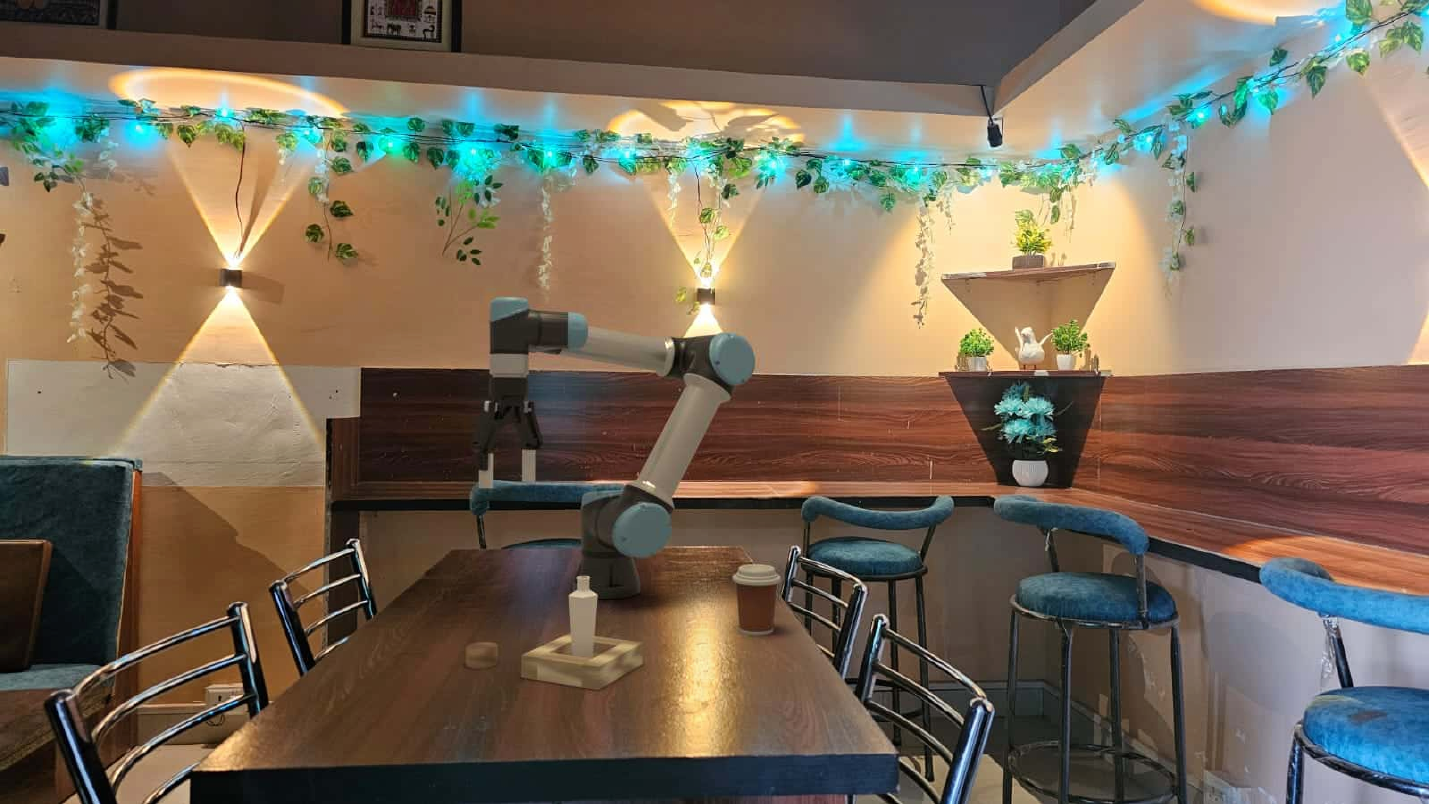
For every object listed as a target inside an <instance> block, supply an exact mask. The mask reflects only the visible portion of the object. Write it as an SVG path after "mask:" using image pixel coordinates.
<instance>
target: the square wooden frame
mask: <svg viewBox="0 0 1429 804" xmlns="http://www.w3.org/2000/svg"><path fill="white" fill-rule="evenodd" d="M643 648H644V643H643V642H641V641H633V640H625V639H619V638H618V639H617V638H612V637H604V636H597V635H594V647H593V659H590V658H583V657H576V656H572V643H571V632H569V633H568V634H565V635H562V636H561V637H559V638H557V639H556V638H555V640H551V641H550V642H547V643H545V644H543V645H541V646H539V647H537V648H534V649H532V650H530V651H527V652H525V653H523V654H521V656H520V657H521V662H520V663H521V665H520V667H521V668H520V669H521V670H520V674H521V675H520V677H521V679H528V680H533V681H540V682H547V683H552V684H557V685H558V684H559V685H564V686H565V685H566V686H571V687H575V688H577V687H578V688H583V689H590V690H596V691H599V690H601V689H603V688H605V687H606V686H608V685H610V684H612V683H613V682H615V681H617V680H619V678H622V677H623V676H625V675H626V674H628V673H630V672H632V671H633V670H635V669H637V668H638V667H640V666H642V665H643V662H644V657H643V656H644V651H643V650H644V649H643Z"/></svg>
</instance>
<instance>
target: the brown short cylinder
mask: <svg viewBox="0 0 1429 804" xmlns="http://www.w3.org/2000/svg"><path fill="white" fill-rule="evenodd" d="M498 646H499V645H498V644H497V643H494V642H491V641H490V642H489V641H483V642H482V641H481V642H474V643H470V644H468V645H466V647H465V666H466V668H468V669H471V670H472V669H473V670H482V669H483V670H484V669H489V668H493V667H496V666H497V665H498Z"/></svg>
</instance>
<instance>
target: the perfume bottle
mask: <svg viewBox="0 0 1429 804" xmlns="http://www.w3.org/2000/svg"><path fill="white" fill-rule="evenodd" d="M589 579H590V577H589V576H579V577H577V590H576V591H575V592H573V591H572V593H570V594H569V595H568V609H569V620H570V621H569V622H570V623H569V627H570V633H571V643H572V656H576V657H583V658H590V659H593V647H594V636H596V635H595V633H596V621H597V620H596V619H597V607H598V605H597V604H598V599H597V596H598V595H597V594H596V593H594V592H593V591H591V590H589Z"/></svg>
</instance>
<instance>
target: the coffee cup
mask: <svg viewBox="0 0 1429 804" xmlns="http://www.w3.org/2000/svg"><path fill="white" fill-rule="evenodd" d="M732 581H733V582H734V583H735V586H736V599H737V615H738V616H737V617H738V629H739V630H738V631H739V632H740V633H741V634H744V635H747V636H766V635H767V636H768V635H770V634H773V632H774V626H775V625H774V624H775V611H776V602H777V589H778V584H779V583H781V581H782V578H781V576H780V575H779V574H778V573H777V572H776V567H774V566H773V565H768V564H759V563H758V564H757V563H756V564H755V563H753V564H749V563H748V564H743V565H740V566H739V567H738V568H737V572H736V573H735V574H734V575H732Z"/></svg>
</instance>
